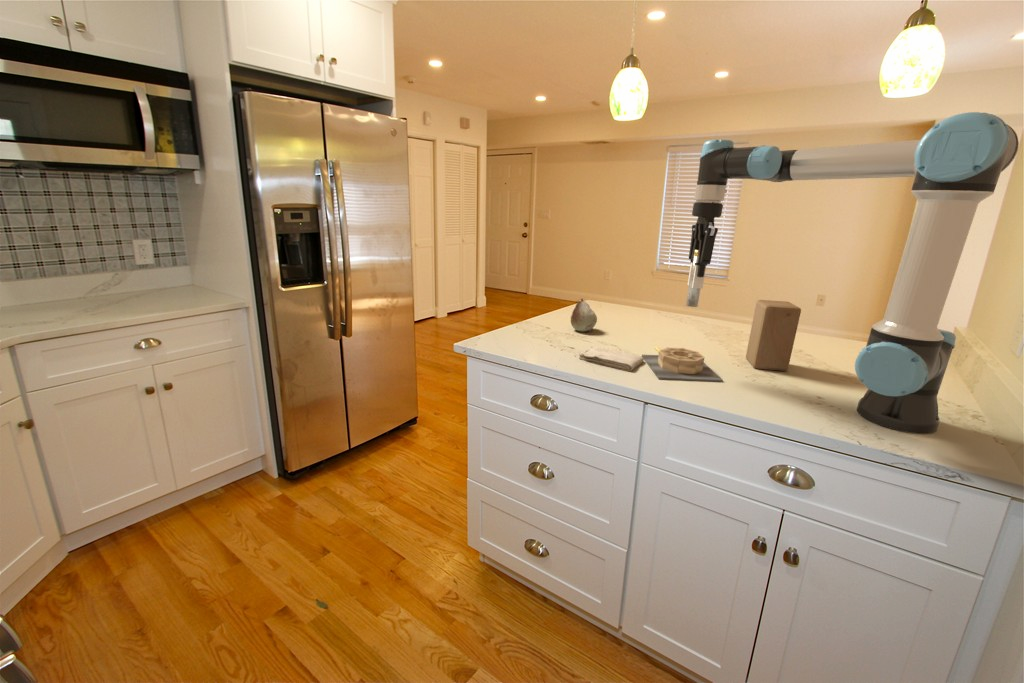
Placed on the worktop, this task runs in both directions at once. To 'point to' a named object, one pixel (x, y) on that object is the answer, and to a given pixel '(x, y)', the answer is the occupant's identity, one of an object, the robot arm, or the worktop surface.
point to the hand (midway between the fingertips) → (694, 286)
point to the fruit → (583, 317)
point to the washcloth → (611, 358)
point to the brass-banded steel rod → (692, 292)
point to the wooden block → (772, 334)
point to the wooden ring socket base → (680, 365)
